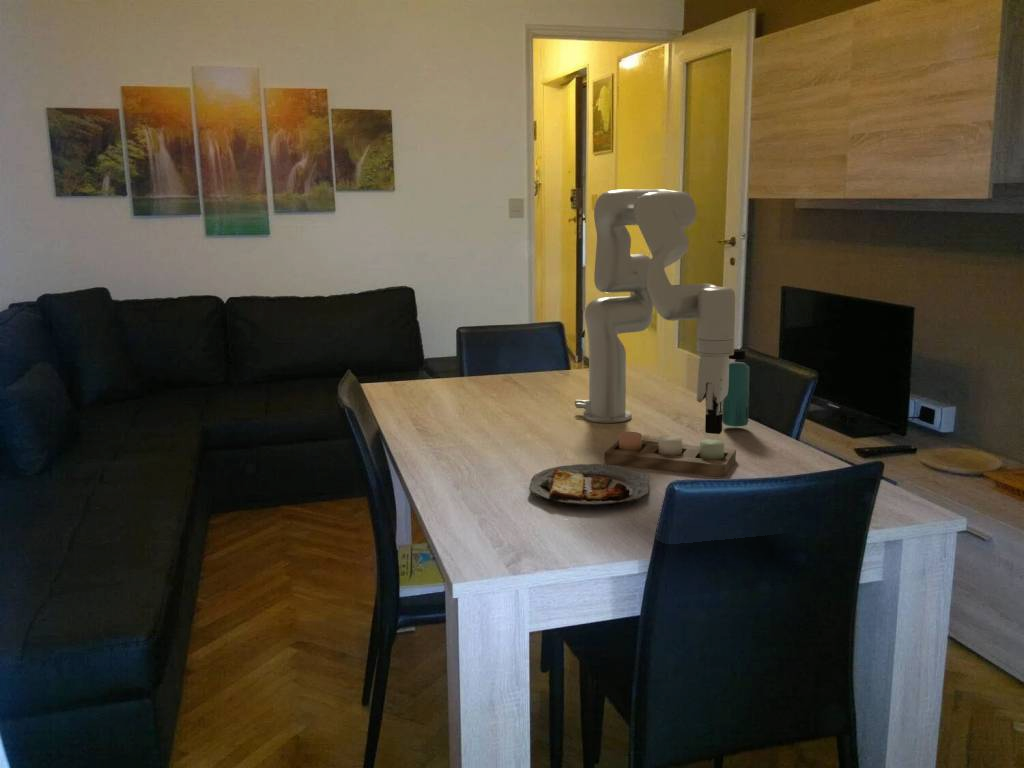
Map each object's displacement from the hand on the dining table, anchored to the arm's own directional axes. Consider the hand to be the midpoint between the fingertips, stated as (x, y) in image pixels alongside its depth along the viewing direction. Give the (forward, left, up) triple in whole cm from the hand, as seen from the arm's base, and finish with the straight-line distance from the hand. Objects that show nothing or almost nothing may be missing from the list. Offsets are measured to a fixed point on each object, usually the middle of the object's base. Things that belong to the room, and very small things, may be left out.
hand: (713, 432), depth 182 cm
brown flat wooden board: (-9, 0, -8) cm, 12 cm away
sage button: (0, 0, -6) cm, 6 cm away
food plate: (-19, -24, -8) cm, 32 cm away
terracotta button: (-18, 0, -6) cm, 19 cm away
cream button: (-9, 0, -6) cm, 11 cm away
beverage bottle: (-1, +32, -8) cm, 33 cm away
